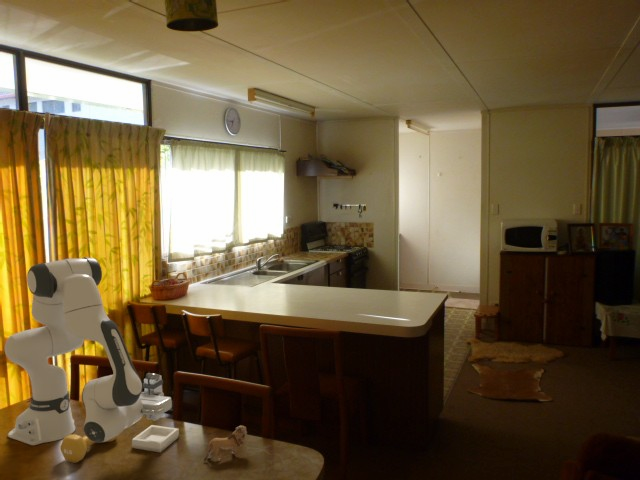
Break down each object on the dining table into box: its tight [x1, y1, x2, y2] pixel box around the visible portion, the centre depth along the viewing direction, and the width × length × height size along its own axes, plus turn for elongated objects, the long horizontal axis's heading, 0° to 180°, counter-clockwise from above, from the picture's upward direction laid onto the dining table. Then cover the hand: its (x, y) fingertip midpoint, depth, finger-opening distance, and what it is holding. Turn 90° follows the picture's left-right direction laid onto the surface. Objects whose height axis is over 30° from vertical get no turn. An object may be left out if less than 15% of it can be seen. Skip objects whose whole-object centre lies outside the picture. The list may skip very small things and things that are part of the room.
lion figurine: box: [203, 425, 248, 462], centre depth 170 cm, size 15×5×9 cm, turn 118°
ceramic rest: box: [131, 424, 180, 453], centre depth 180 cm, size 11×11×3 cm
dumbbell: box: [59, 433, 119, 464], centre depth 176 cm, size 19×9×8 cm, turn 156°
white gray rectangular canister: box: [142, 372, 165, 422], centre depth 179 cm, size 4×5×15 cm
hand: (155, 393), depth 180 cm, fingers closed on white gray rectangular canister, 4 cm apart
